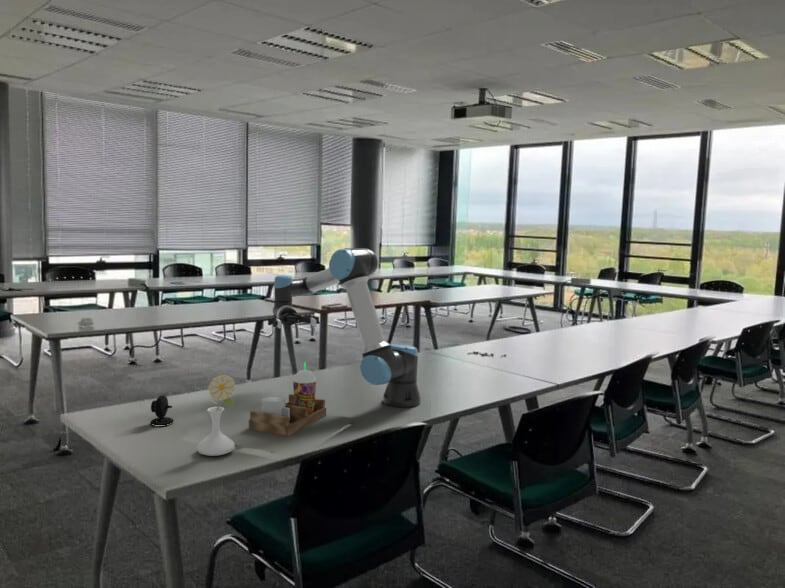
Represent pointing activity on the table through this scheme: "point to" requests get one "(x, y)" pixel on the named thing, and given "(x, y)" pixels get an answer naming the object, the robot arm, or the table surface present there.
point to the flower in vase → (218, 418)
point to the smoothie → (304, 389)
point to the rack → (287, 418)
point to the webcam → (161, 411)
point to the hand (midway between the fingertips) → (297, 324)
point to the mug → (275, 406)
